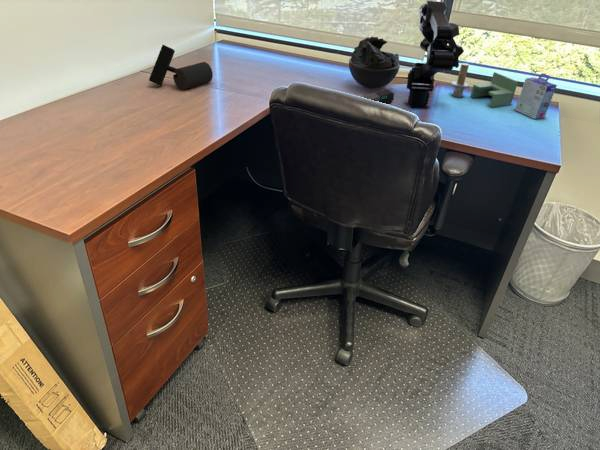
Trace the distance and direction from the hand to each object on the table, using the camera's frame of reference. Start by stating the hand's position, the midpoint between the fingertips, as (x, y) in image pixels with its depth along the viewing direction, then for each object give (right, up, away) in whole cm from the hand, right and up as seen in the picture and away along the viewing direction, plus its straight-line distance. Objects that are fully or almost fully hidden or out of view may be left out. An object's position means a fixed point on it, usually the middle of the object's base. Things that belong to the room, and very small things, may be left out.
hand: (449, 63), depth 176 cm
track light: (-102, -7, +5) cm, 102 cm away
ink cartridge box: (+29, -20, -2) cm, 35 cm away
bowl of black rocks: (-28, -5, +13) cm, 31 cm away
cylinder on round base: (+6, -9, +11) cm, 15 cm away
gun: (-33, -21, -9) cm, 40 cm away
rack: (+18, -12, +7) cm, 23 cm away
